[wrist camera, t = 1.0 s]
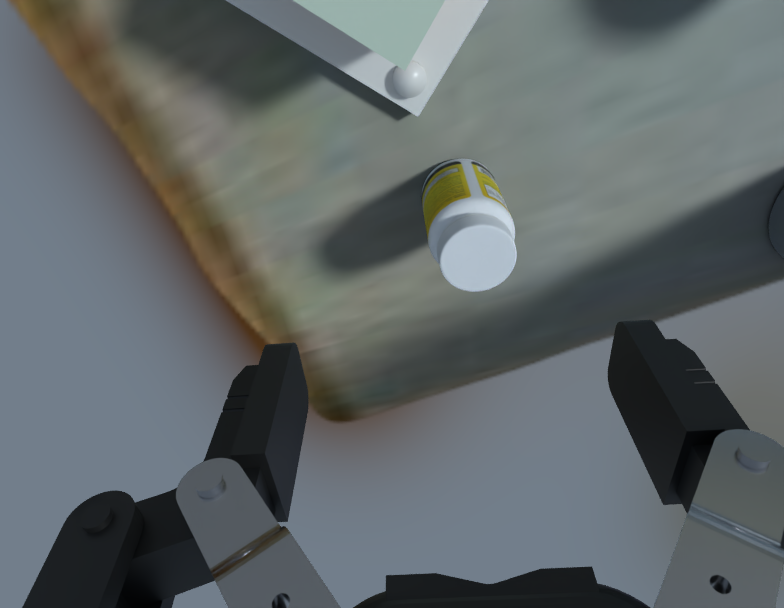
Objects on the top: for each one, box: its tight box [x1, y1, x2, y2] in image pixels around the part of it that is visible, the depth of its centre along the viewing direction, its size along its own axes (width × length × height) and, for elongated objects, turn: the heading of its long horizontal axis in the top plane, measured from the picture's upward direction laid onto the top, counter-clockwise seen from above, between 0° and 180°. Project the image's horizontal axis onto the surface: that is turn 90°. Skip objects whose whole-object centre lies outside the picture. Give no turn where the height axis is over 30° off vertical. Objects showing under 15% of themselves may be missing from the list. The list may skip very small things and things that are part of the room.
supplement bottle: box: [422, 159, 517, 292], centre depth 31 cm, size 5×5×8 cm
